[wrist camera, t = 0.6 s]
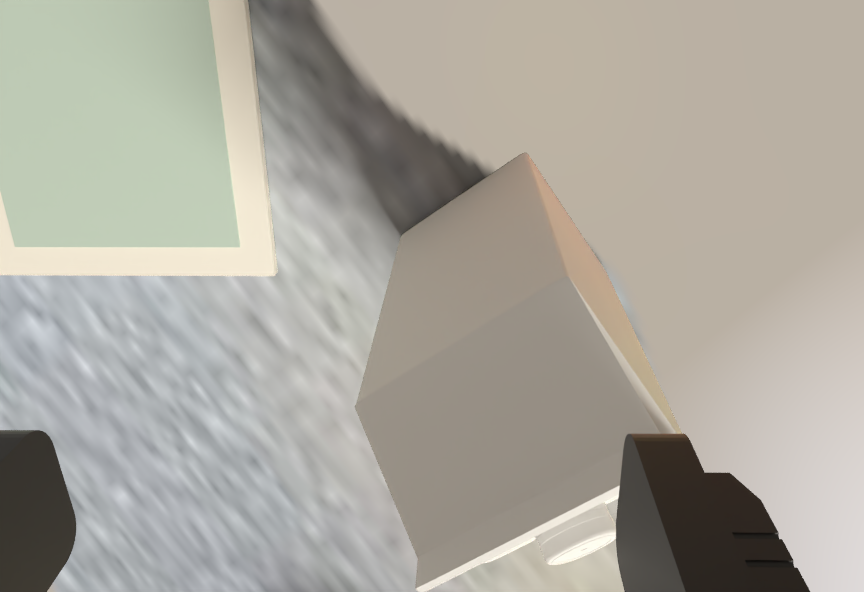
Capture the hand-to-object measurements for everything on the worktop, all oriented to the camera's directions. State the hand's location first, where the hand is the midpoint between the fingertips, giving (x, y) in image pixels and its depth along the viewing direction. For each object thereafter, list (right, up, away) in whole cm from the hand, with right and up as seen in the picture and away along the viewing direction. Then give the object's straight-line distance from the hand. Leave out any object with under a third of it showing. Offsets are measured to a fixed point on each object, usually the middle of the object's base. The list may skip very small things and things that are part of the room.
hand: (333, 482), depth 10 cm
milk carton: (+5, +5, +25) cm, 25 cm away
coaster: (-13, +10, +23) cm, 28 cm away
